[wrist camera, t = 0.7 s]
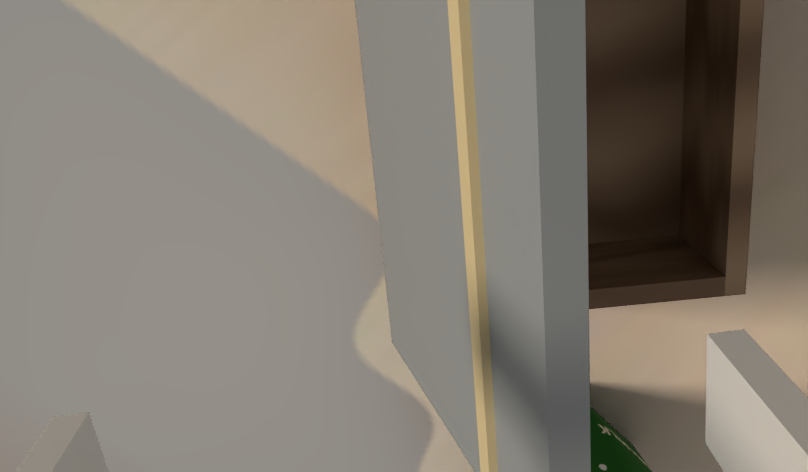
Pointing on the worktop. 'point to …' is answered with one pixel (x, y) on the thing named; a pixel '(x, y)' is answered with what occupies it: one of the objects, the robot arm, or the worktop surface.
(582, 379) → the lid
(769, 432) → the robot arm
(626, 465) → the milk carton
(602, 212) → the walnut box
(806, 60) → the worktop surface
